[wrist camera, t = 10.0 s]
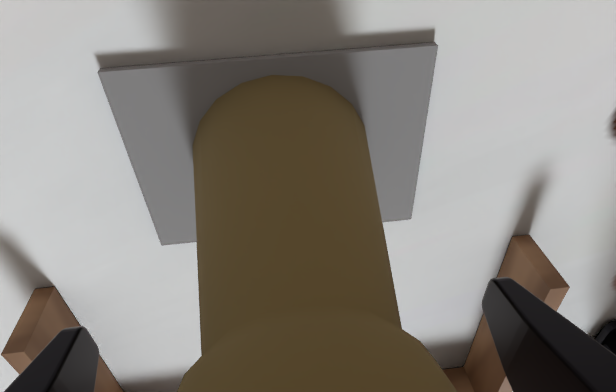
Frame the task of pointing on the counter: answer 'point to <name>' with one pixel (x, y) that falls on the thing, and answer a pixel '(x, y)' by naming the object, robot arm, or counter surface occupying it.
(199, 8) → the counter surface
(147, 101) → the grey mat
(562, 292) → the wooden u-shaped frame
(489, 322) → the robot arm
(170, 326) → the counter surface
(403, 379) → the cork
